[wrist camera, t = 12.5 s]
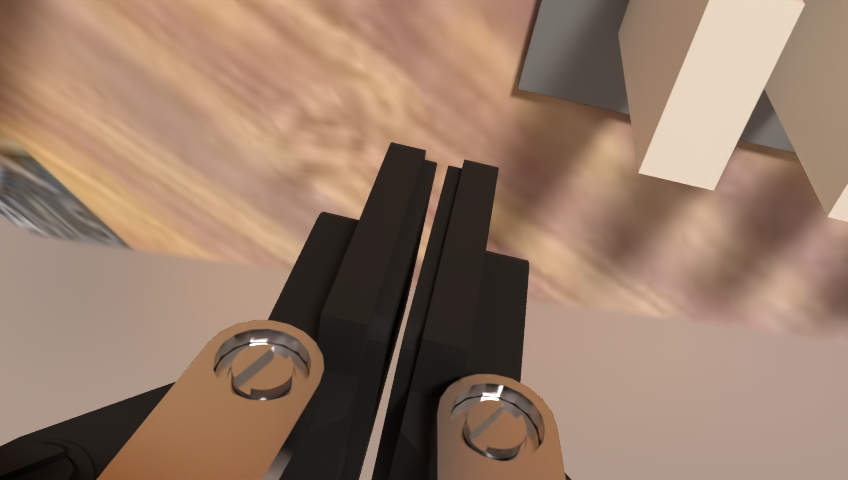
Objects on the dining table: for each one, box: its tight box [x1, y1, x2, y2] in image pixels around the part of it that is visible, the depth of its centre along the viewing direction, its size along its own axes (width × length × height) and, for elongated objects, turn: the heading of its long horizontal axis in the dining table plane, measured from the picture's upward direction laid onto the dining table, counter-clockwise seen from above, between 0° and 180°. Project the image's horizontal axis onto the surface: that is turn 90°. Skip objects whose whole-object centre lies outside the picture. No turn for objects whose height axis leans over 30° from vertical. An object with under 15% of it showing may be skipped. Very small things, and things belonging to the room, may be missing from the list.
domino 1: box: [618, 0, 805, 191], centre depth 22 cm, size 2×5×10 cm, turn 170°
